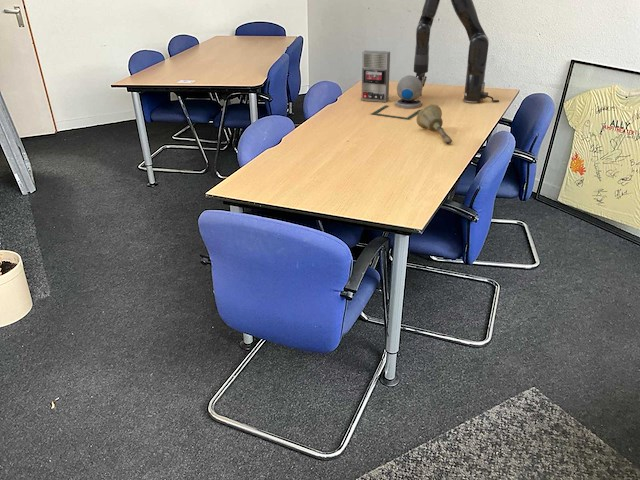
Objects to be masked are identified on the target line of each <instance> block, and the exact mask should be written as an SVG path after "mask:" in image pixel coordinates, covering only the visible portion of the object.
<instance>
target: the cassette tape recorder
mask: <svg viewBox="0 0 640 480" xmlns="http://www.w3.org/2000/svg"><path fill="white" fill-rule="evenodd" d="M390 70H391V51H388V50H387V51H385V50H364V51H362V52H361V97H360V101H363V102H364V101H368V102H379V103H387V102H388V101H389V100H390V97H389V96H390V95H389V94H390V73H391V72H390Z"/></svg>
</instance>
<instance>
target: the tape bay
mask: <svg viewBox="0 0 640 480" xmlns="http://www.w3.org/2000/svg"><path fill="white" fill-rule="evenodd" d="M388 107H389V105H384V106H383V107H382V106H381V108H379V109H377V110H376V111H374V112H372V113H371V115H375V116H380V117H381V116H382V117H387V118H396V119H402V120H411V119H412V118H413V117H415V116H417V115H418V113H419V111H420V110H421V109H418V110H417V111H415V112H414V113H412V114H411V115H408V117H404V116H397V115H389V114H388V115H387V114H384V113H383V114H382V113H379V112H381V111H382V110H385V109H386V108H388Z"/></svg>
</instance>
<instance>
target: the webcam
mask: <svg viewBox="0 0 640 480" xmlns="http://www.w3.org/2000/svg"><path fill="white" fill-rule="evenodd" d="M396 93H397V95H398V97H399V98H400V99H398V100H396V102H395V105H396V107H398V108H401V109H417V108H421V107H422V101H421V100H419V98H420V97H421V96H422V95H421V93H422V94H423V89H422V83H421V81H420V80H419V79H418V78H417V77H416V75H411V74H409V75H406V76H403V77H401V79H400V80H399V81H398V83H397V85H396ZM420 95H421V96H420Z"/></svg>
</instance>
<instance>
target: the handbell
mask: <svg viewBox="0 0 640 480" xmlns="http://www.w3.org/2000/svg"><path fill="white" fill-rule="evenodd" d="M419 110H420V111H419V113H418V114H416V123H417V126H419V127H420V128H422V129H428V130H429V131H431V132H437V133H438V134H439V135H440V137H441V138H442V140H443V142H444V143H445V144H446V145H449V144H452V142H453V139H452V137H450V135H449V134H447V133H446V131H444V128H443V127H442V126H443V124H444V123H443V119H442V116H443V110H442V108H441V107H440V106H439V105H437V104H434V103H432V104H431V103H430V104H428V105H426V106H424V107H423V108H421V109H419Z"/></svg>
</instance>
